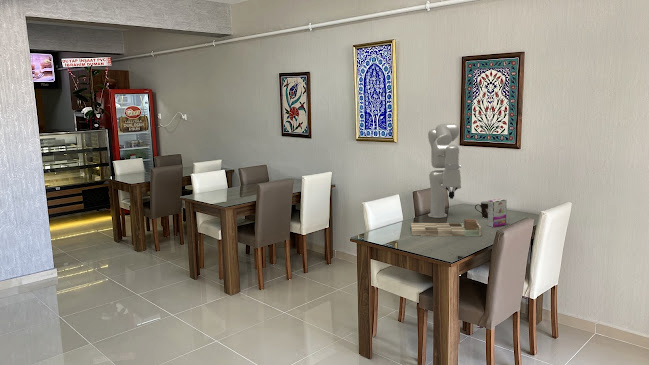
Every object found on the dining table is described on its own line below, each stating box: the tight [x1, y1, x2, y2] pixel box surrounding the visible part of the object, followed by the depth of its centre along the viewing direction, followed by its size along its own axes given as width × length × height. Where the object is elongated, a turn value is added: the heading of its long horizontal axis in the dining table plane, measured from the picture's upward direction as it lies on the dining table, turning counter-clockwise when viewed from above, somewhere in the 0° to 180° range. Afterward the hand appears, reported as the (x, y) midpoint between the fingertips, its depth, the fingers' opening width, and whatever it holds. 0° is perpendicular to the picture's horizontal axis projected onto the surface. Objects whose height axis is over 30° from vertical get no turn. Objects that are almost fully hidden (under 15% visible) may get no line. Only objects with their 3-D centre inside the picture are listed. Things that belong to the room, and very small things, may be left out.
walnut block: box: [463, 218, 478, 230], centre depth 286 cm, size 6×6×5 cm
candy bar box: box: [487, 198, 507, 228], centre depth 302 cm, size 11×5×16 cm, turn 117°
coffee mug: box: [474, 200, 489, 219], centre depth 326 cm, size 12×9×10 cm
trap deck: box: [410, 218, 482, 237], centre depth 291 cm, size 19×39×6 cm, turn 82°
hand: (451, 198), depth 285 cm, fingers closed
